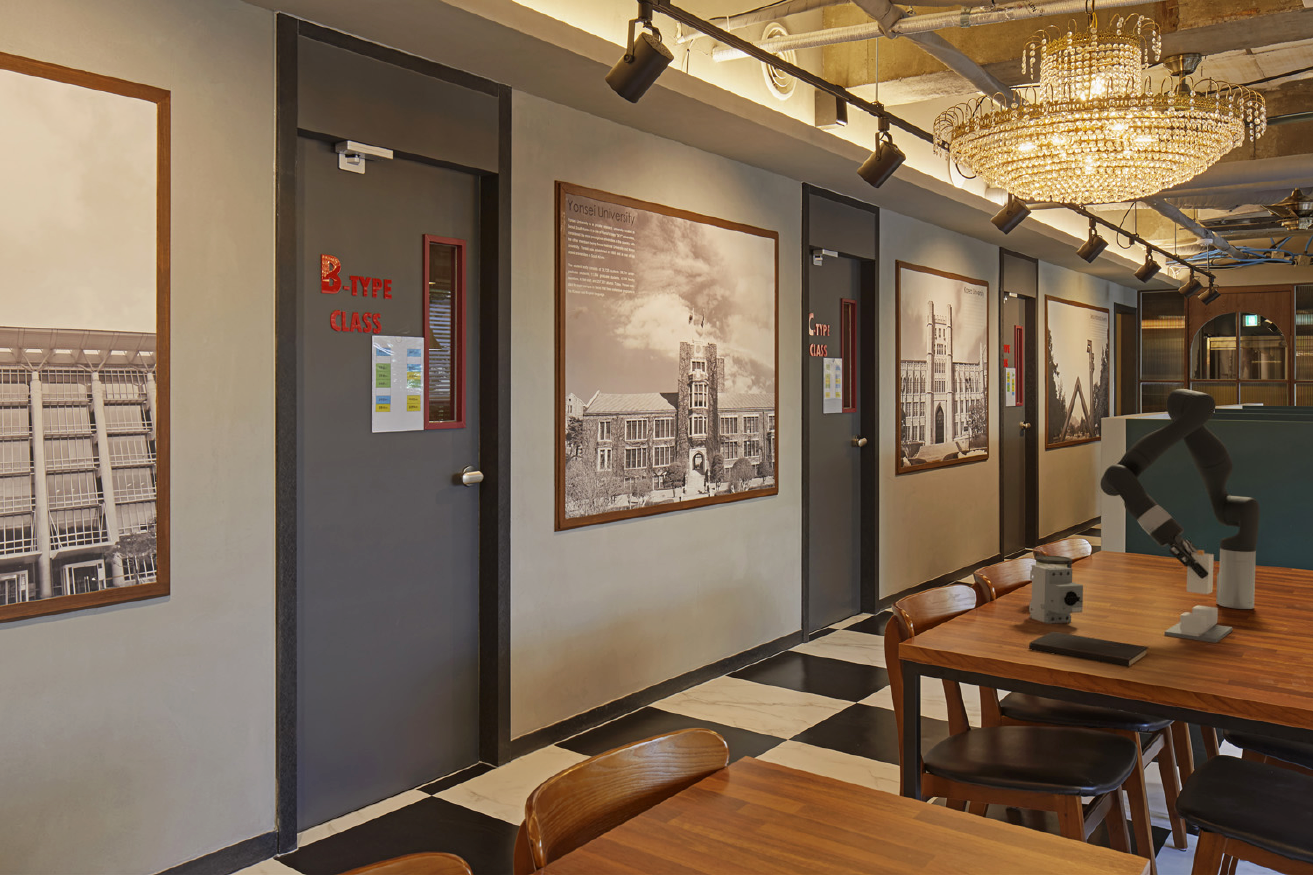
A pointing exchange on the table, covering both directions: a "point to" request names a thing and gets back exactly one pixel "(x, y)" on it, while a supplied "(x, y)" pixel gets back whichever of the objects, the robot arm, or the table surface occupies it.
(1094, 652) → the hardcover book
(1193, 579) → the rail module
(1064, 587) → the circuit breaker
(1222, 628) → the rail board
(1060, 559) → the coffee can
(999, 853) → the table surface
